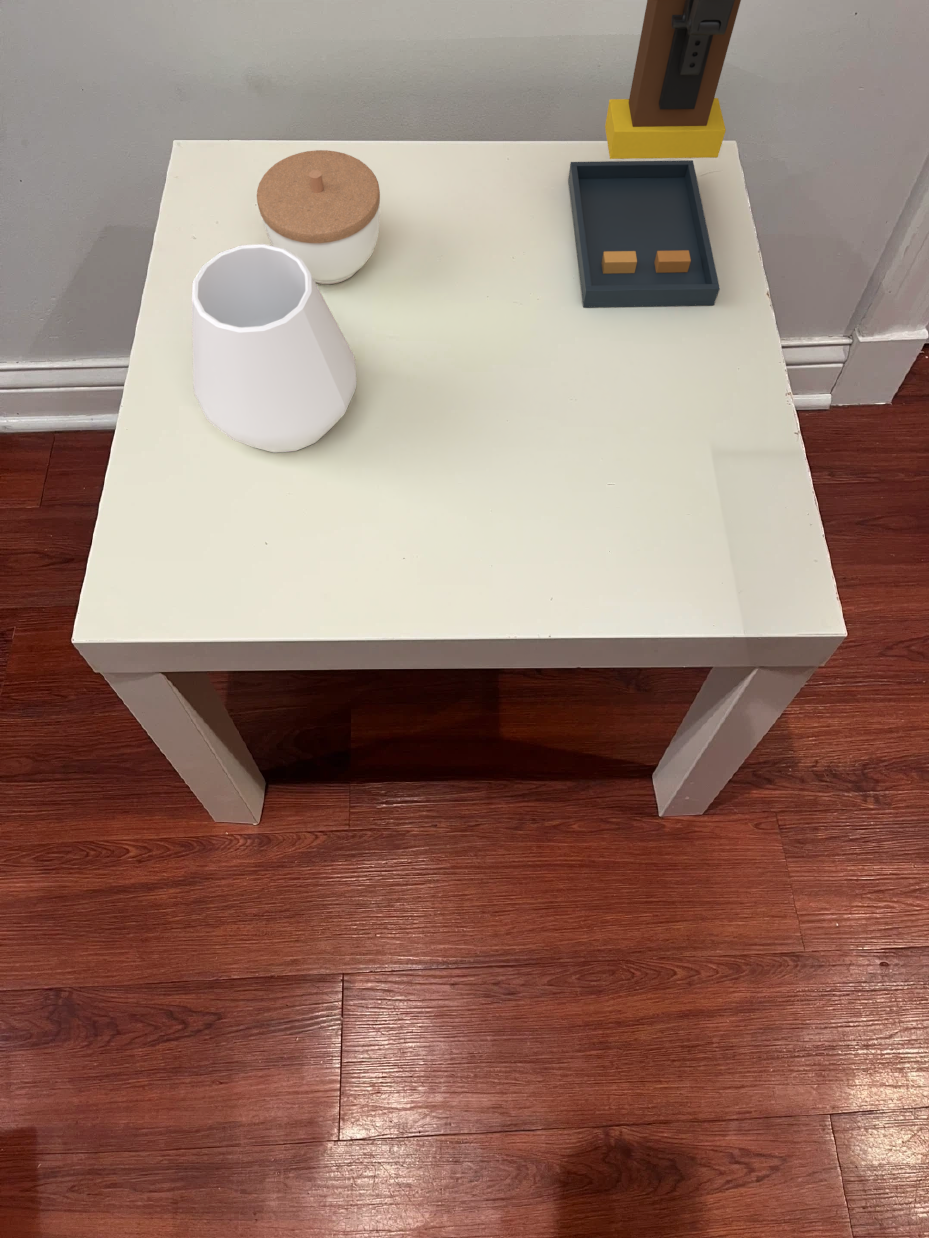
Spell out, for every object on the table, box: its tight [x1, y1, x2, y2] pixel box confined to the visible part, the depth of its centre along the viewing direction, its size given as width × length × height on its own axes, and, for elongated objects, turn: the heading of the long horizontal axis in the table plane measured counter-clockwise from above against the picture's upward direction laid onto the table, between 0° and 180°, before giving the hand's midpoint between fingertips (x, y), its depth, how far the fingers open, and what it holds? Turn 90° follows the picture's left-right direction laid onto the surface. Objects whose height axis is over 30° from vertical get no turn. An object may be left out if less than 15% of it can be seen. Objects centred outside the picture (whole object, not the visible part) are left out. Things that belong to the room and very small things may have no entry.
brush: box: [604, 0, 742, 160], centre depth 69 cm, size 9×4×12 cm, turn 92°
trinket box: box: [256, 149, 381, 285], centre depth 81 cm, size 11×11×9 cm
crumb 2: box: [654, 250, 691, 273], centre depth 84 cm, size 1×3×1 cm, turn 92°
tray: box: [567, 159, 721, 309], centre depth 86 cm, size 17×12×2 cm
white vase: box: [191, 243, 357, 454], centre depth 71 cm, size 13×13×14 cm
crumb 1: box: [602, 251, 637, 274], centre depth 84 cm, size 1×3×1 cm, turn 92°
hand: (673, 90), depth 71 cm, fingers closed on brush, 3 cm apart
